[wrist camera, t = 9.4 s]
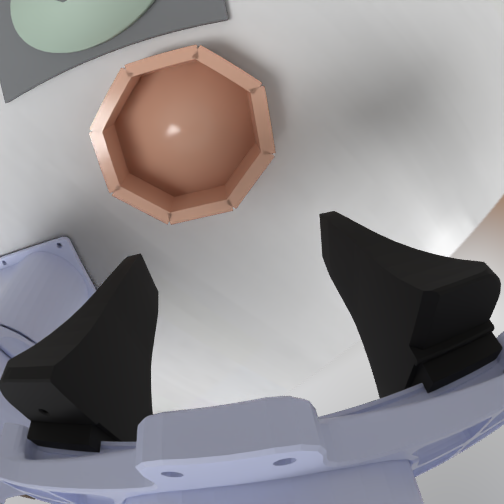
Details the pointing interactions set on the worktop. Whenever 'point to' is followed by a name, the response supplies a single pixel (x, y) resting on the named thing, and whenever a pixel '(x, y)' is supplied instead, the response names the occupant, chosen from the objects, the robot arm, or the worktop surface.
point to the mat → (52, 64)
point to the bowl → (183, 134)
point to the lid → (73, 22)
